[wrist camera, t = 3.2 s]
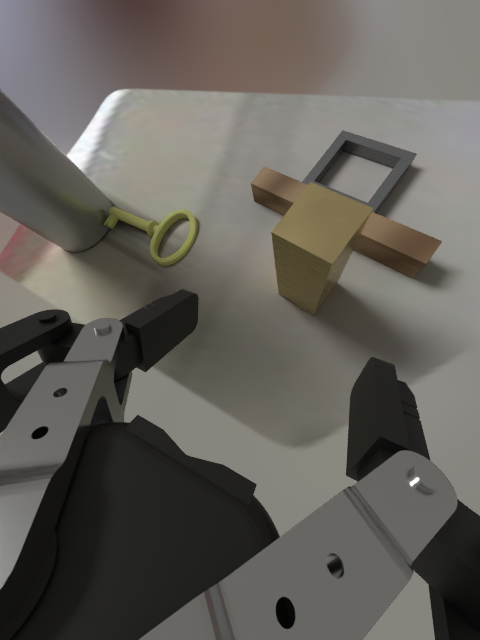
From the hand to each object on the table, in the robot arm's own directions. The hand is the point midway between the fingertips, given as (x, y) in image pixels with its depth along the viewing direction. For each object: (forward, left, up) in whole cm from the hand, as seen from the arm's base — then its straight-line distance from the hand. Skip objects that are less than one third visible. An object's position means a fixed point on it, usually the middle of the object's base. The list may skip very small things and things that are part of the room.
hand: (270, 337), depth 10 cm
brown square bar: (-4, +14, -11) cm, 19 cm away
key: (-21, +4, -12) cm, 25 cm away
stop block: (-2, +7, -12) cm, 14 cm away
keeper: (-5, +20, -11) cm, 24 cm away
